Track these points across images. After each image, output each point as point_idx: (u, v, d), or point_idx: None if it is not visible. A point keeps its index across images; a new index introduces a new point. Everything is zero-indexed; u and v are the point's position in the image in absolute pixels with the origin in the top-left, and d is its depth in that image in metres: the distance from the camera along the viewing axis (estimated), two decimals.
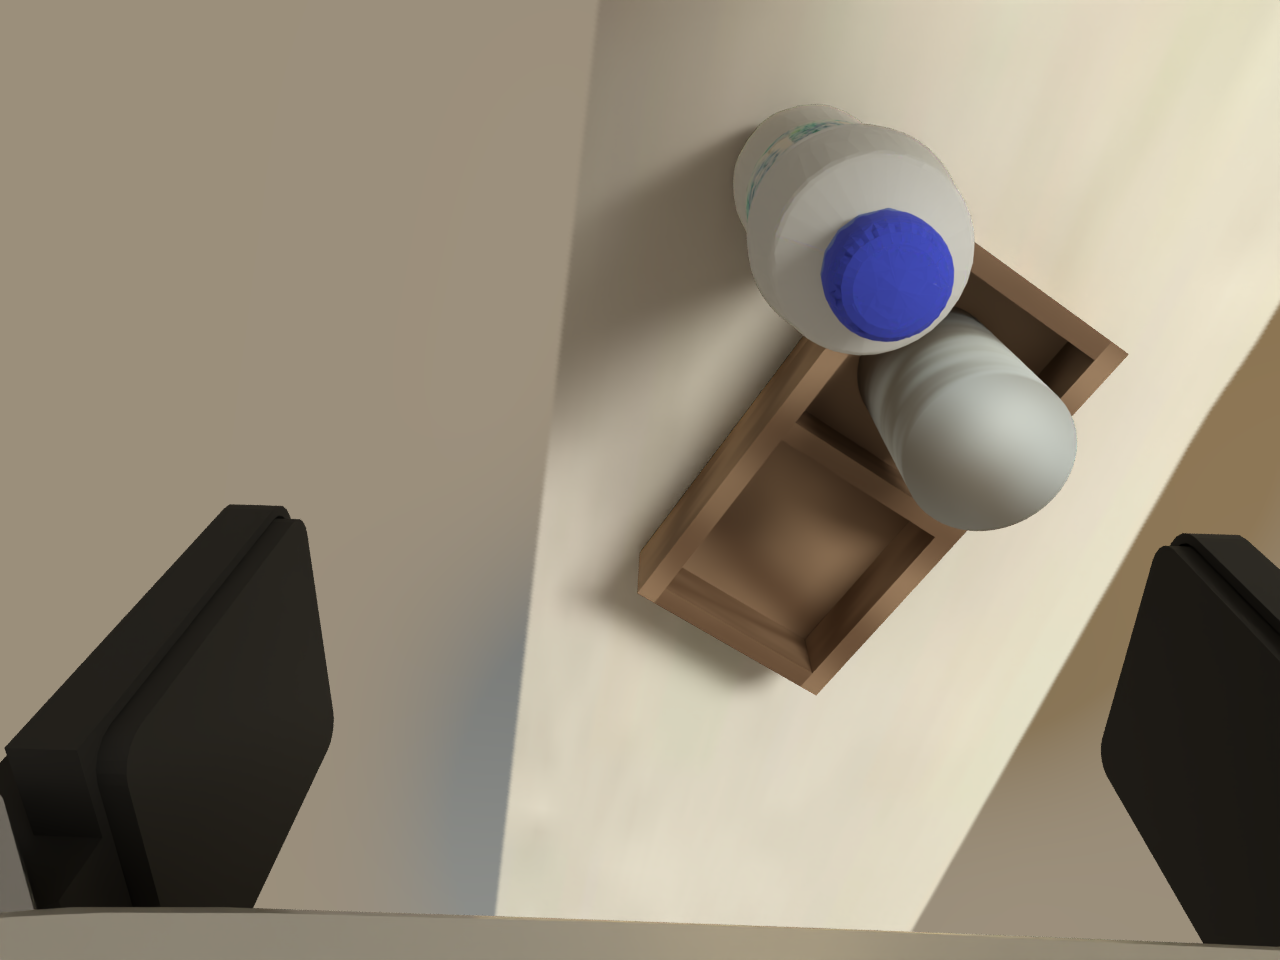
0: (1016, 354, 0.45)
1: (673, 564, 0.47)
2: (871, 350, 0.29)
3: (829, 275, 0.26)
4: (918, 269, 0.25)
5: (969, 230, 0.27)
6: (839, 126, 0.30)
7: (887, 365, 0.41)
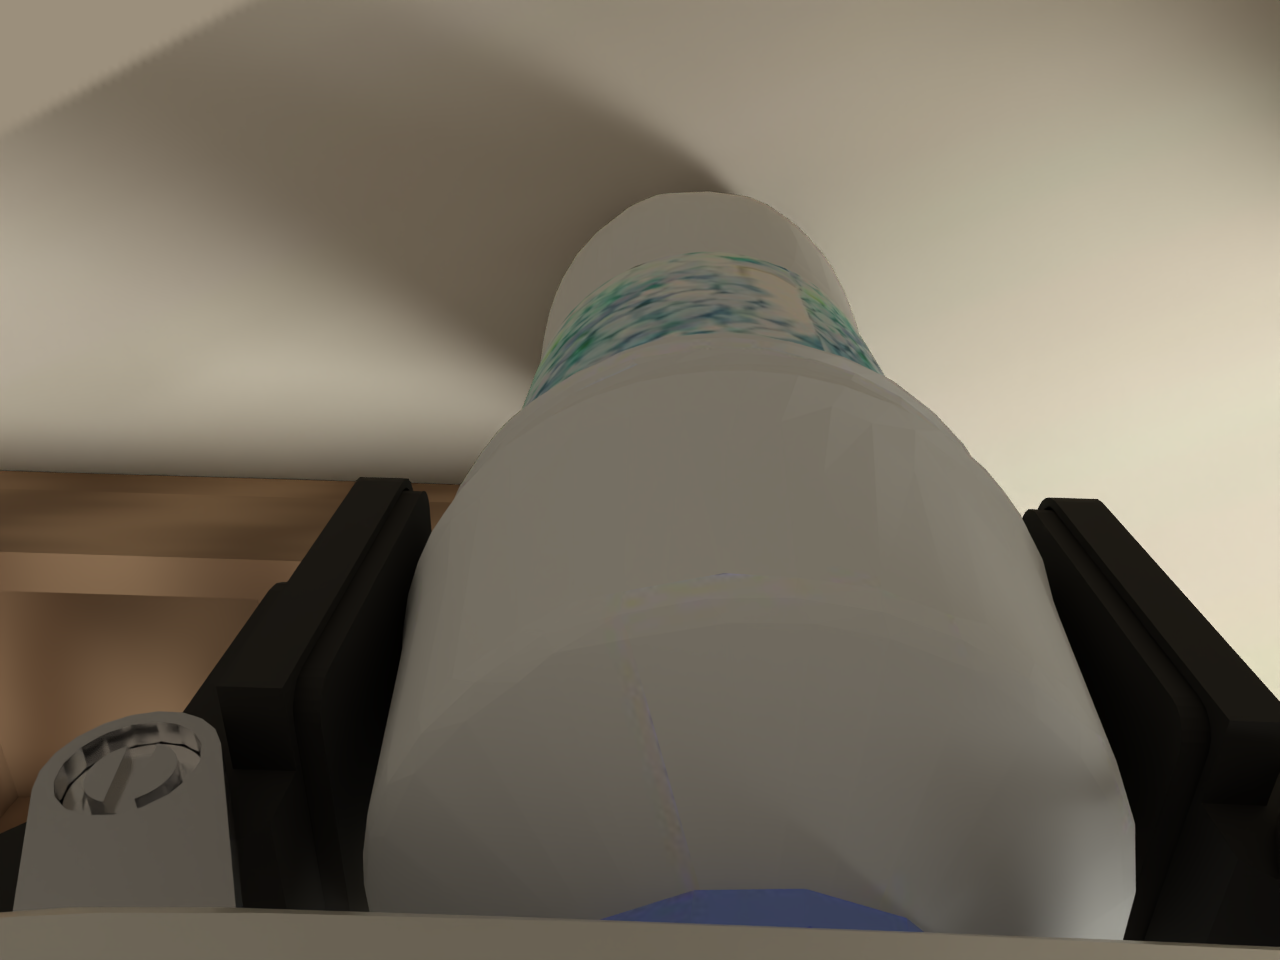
0: None
1: None
2: None
3: None
4: None
5: None
6: (958, 444, 0.10)
7: None
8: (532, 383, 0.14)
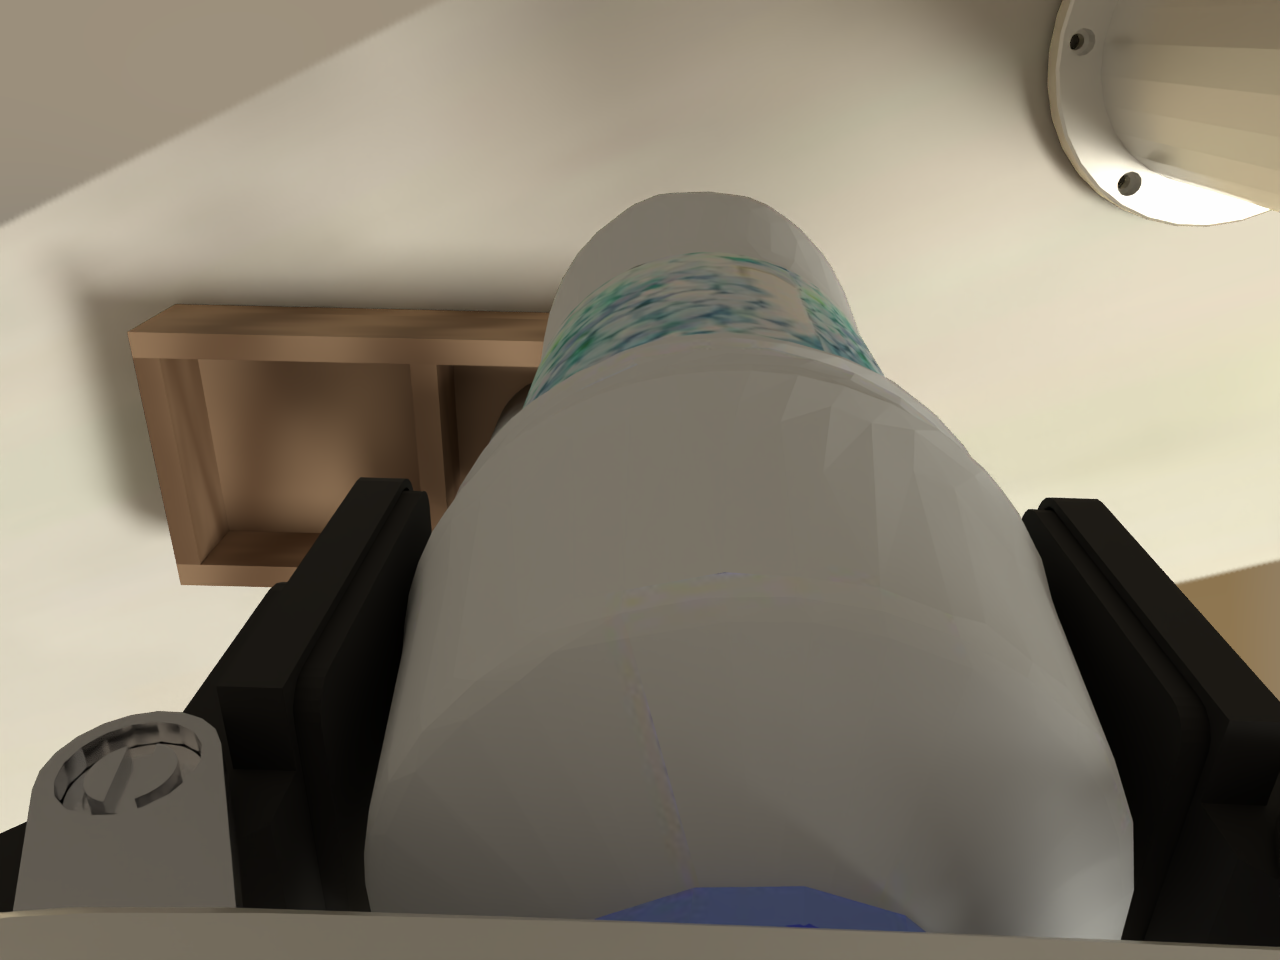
0: None
1: (191, 348, 0.36)
2: None
3: None
4: None
5: None
6: (957, 444, 0.10)
7: None
8: (532, 383, 0.15)
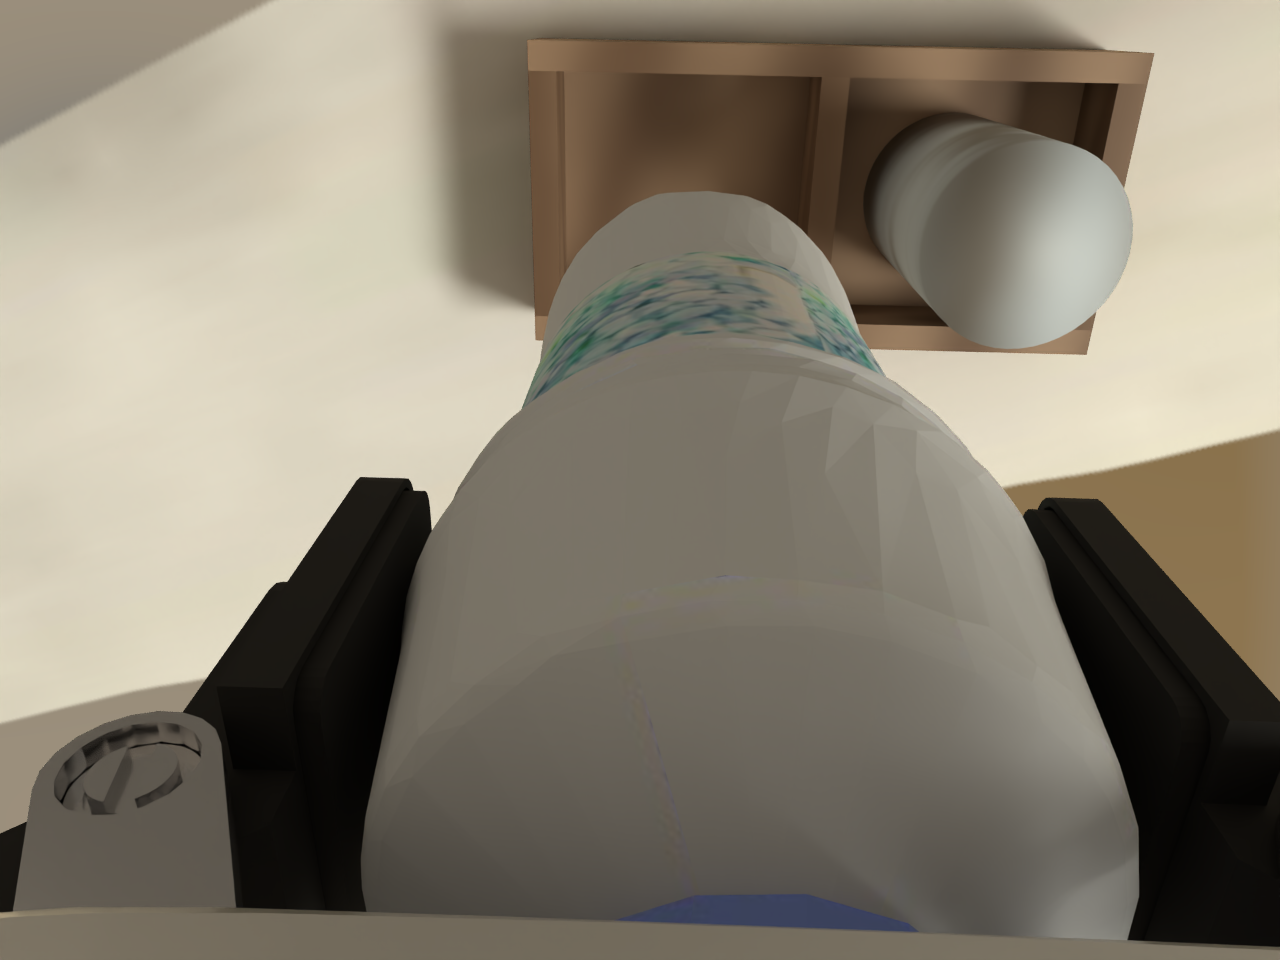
0: None
1: (593, 58, 0.34)
2: None
3: None
4: None
5: None
6: (960, 445, 0.10)
7: (980, 122, 0.34)
8: (532, 383, 0.14)
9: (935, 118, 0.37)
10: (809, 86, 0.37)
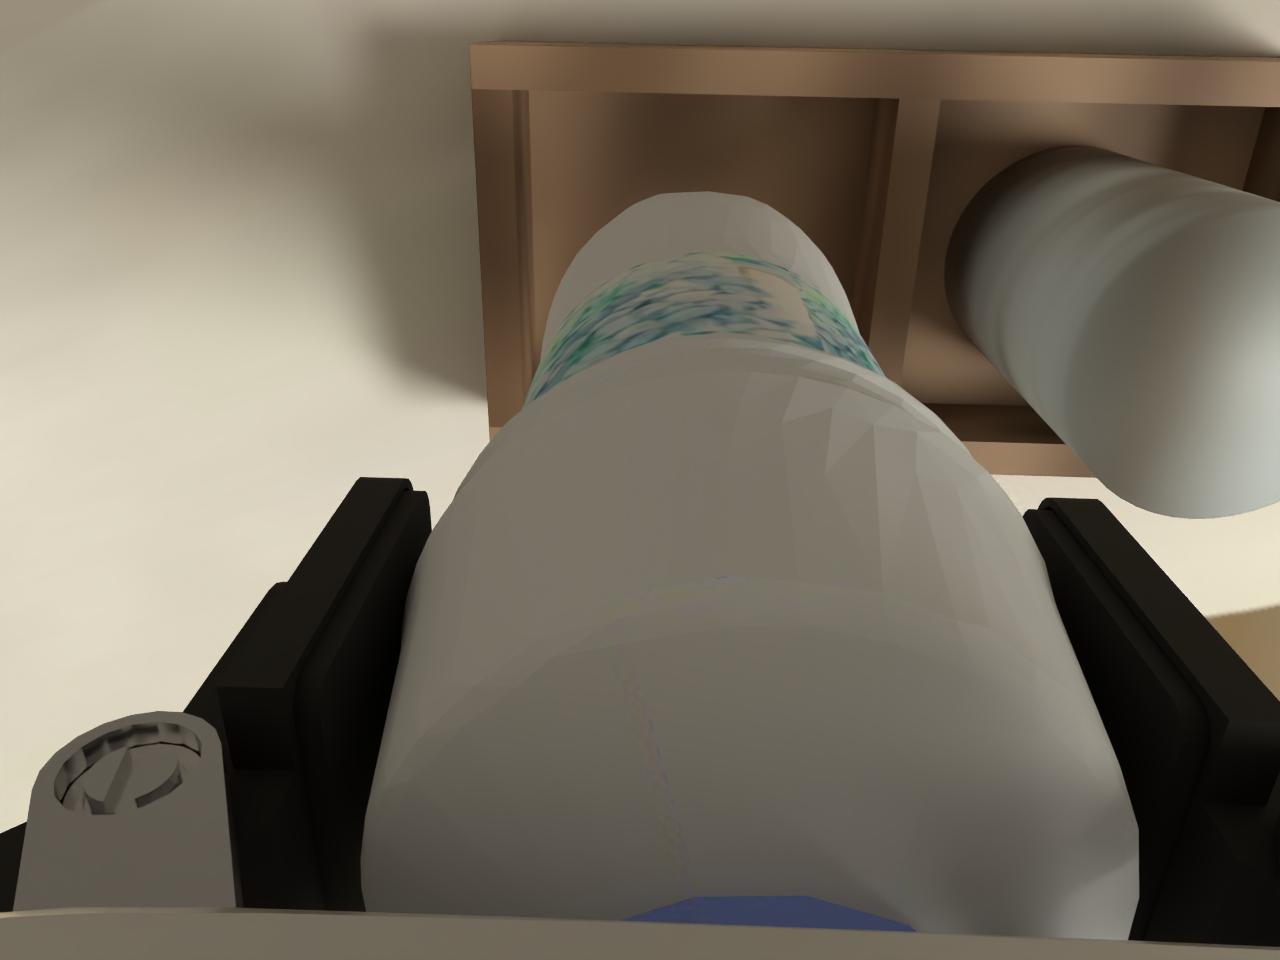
0: None
1: (565, 72, 0.24)
2: None
3: None
4: None
5: None
6: (960, 445, 0.10)
7: (1135, 166, 0.23)
8: None
9: (1054, 155, 0.26)
10: (874, 109, 0.26)
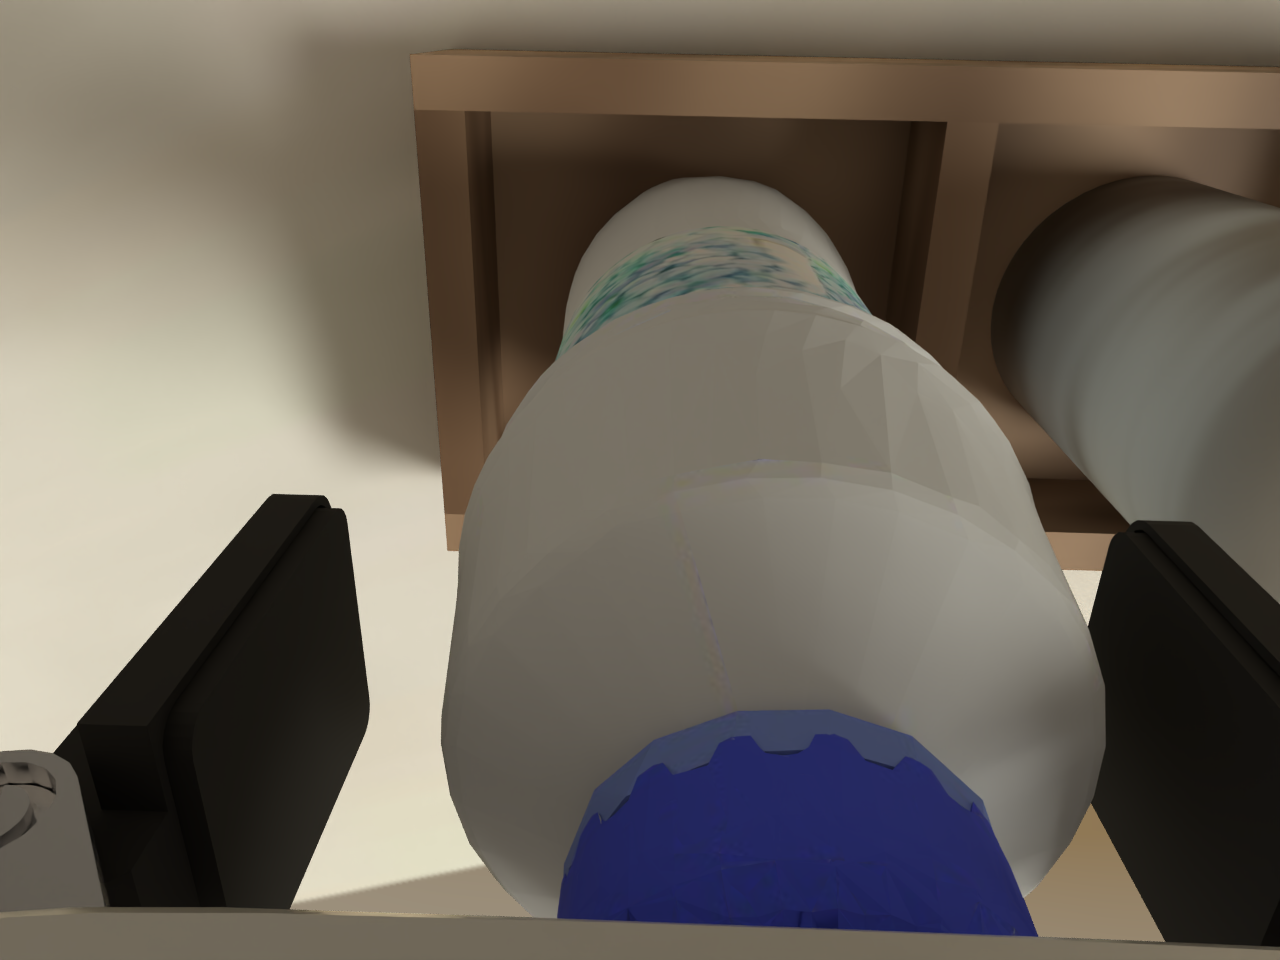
0: None
1: (530, 88, 0.19)
2: (530, 908, 0.09)
3: (693, 878, 0.06)
4: None
5: None
6: None
7: (1243, 207, 0.18)
8: (562, 345, 0.16)
9: (1130, 188, 0.21)
10: (910, 132, 0.22)
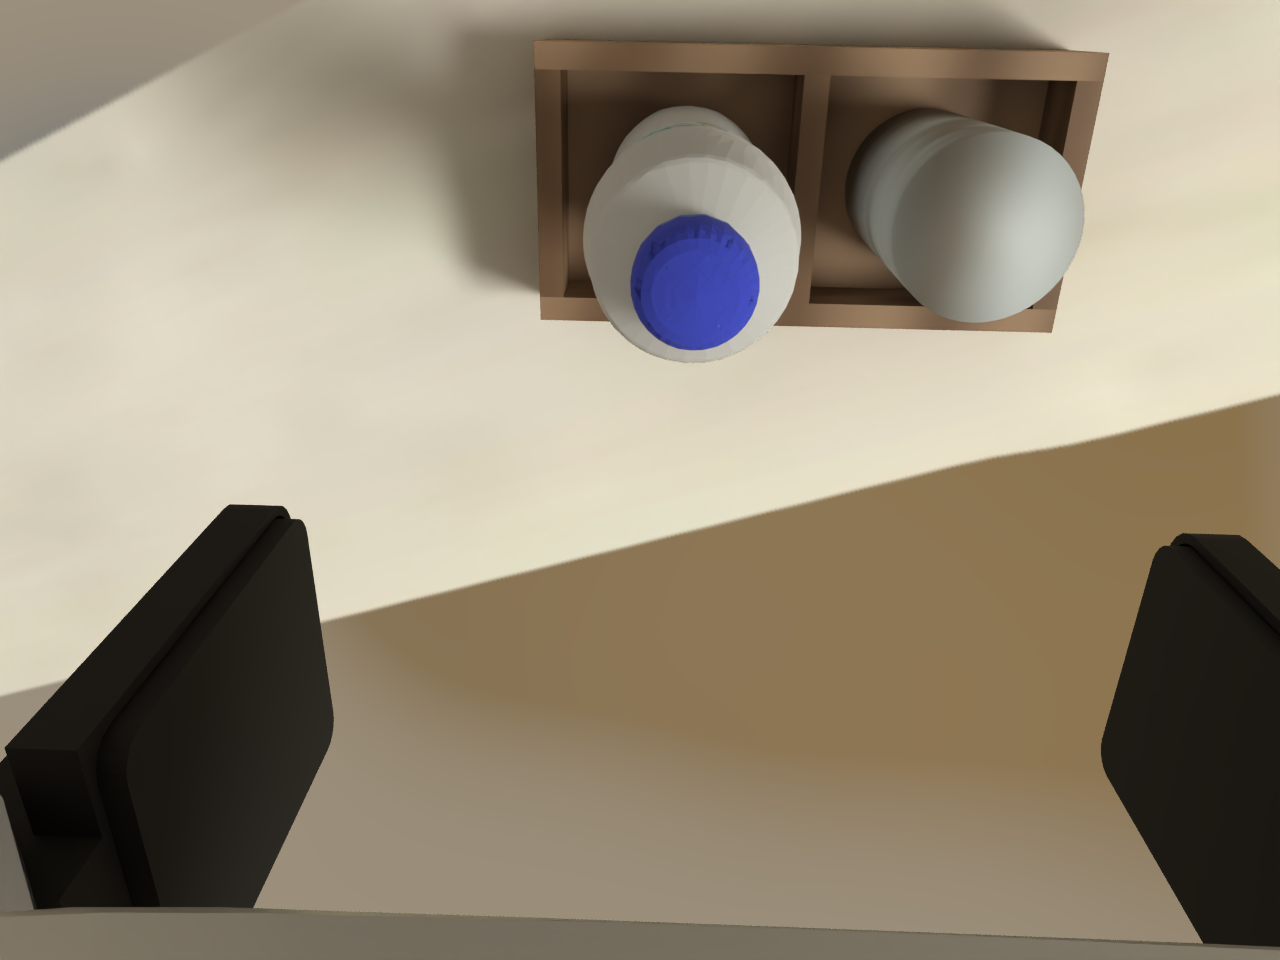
0: None
1: (594, 58, 0.37)
2: (616, 321, 0.28)
3: (667, 230, 0.24)
4: (722, 302, 0.24)
5: (765, 328, 0.28)
6: None
7: (950, 116, 0.37)
8: None
9: (910, 113, 0.40)
10: (794, 83, 0.40)
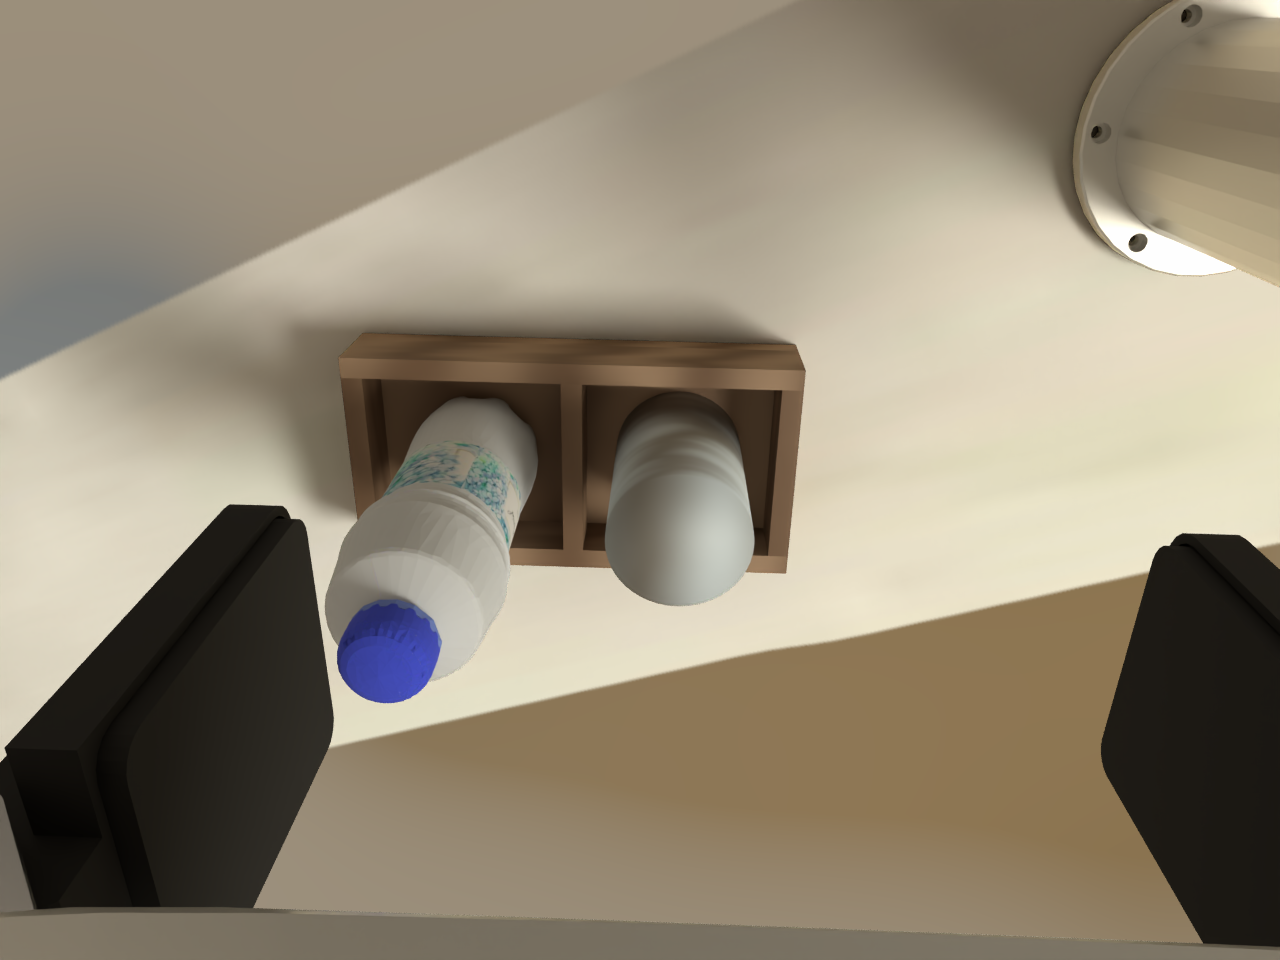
0: None
1: (388, 370, 0.46)
2: None
3: (358, 625, 0.33)
4: (398, 678, 0.33)
5: (463, 662, 0.36)
6: (485, 516, 0.38)
7: (676, 421, 0.45)
8: None
9: (660, 400, 0.48)
10: None
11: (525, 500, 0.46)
